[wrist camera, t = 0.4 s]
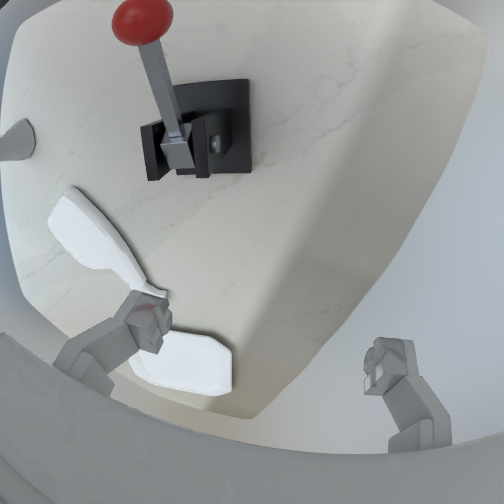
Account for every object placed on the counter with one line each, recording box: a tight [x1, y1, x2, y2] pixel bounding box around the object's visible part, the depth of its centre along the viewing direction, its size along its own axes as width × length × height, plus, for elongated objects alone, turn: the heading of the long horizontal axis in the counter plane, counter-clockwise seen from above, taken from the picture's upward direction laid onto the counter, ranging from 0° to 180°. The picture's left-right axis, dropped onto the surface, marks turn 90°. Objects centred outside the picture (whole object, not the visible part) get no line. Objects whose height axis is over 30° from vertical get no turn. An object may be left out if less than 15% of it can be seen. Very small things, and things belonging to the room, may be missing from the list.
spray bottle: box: [47, 187, 167, 298], centre depth 39 cm, size 3×11×24 cm
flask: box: [0, 119, 35, 161], centre depth 25 cm, size 7×7×10 cm
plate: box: [128, 330, 232, 396], centre depth 55 cm, size 25×25×2 cm
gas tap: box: [140, 79, 252, 181], centre depth 24 cm, size 11×9×13 cm
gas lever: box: [112, 0, 195, 169], centre depth 15 cm, size 14×4×4 cm, turn 1°
